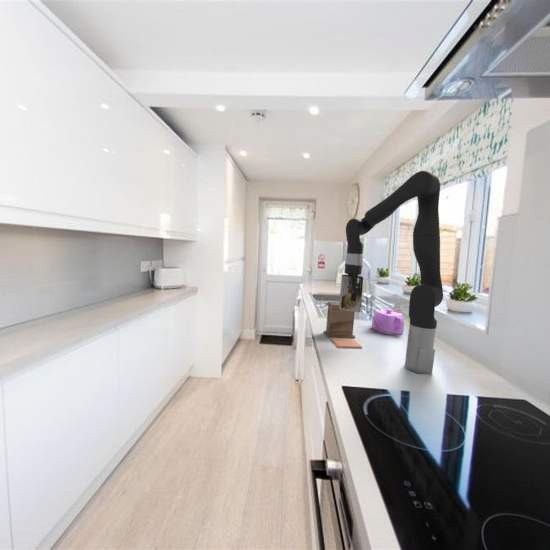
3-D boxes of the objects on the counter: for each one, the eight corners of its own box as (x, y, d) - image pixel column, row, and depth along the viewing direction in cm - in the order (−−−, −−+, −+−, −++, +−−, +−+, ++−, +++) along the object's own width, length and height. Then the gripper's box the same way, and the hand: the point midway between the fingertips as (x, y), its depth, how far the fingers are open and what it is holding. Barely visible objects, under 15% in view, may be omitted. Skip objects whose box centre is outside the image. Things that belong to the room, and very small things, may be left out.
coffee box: (358, 309, 142) (361, 275, 140) (360, 312, 136) (364, 277, 134) (338, 307, 143) (341, 274, 141) (340, 310, 136) (343, 275, 135)
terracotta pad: (361, 348, 136) (362, 346, 136) (338, 347, 135) (338, 346, 135) (352, 340, 147) (352, 338, 147) (331, 339, 146) (331, 338, 146)
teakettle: (403, 337, 158) (406, 314, 156) (369, 332, 164) (371, 310, 163) (402, 329, 173) (405, 308, 172) (372, 325, 180) (374, 304, 178)
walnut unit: (354, 338, 151) (358, 305, 149) (327, 337, 149) (330, 304, 147) (349, 333, 159) (352, 302, 157) (323, 332, 157) (326, 301, 155)
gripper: (340, 262, 144) (337, 296, 145) (351, 264, 129) (348, 302, 131) (355, 262, 144) (352, 296, 146) (368, 265, 130) (364, 302, 132)
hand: (350, 299), depth 139 cm, fingers closed on coffee box, 7 cm apart
